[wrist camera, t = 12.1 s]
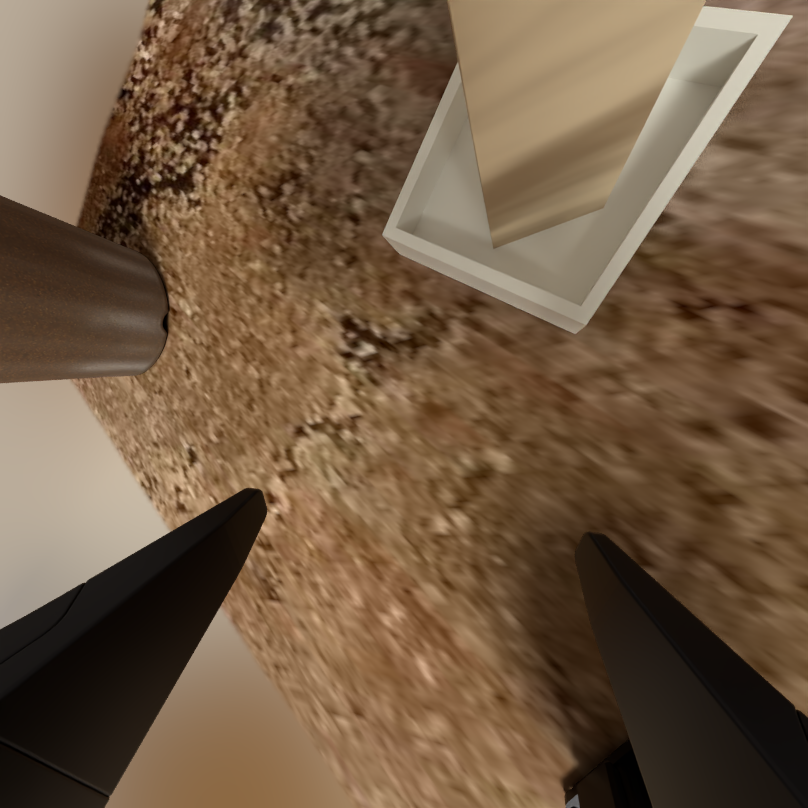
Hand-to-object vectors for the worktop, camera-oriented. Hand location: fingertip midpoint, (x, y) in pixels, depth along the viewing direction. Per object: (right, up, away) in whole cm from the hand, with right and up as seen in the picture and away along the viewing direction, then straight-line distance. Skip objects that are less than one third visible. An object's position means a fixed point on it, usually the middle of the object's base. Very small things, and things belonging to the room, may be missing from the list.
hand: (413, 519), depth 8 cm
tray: (+7, +14, +7) cm, 17 cm away
